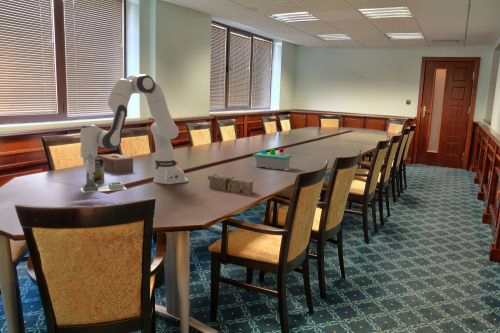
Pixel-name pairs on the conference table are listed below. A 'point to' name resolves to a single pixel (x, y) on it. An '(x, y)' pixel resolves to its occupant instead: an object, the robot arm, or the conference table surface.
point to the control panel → (272, 159)
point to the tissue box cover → (117, 163)
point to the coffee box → (99, 170)
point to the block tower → (231, 183)
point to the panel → (103, 187)
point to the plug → (90, 181)
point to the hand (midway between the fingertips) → (89, 177)
